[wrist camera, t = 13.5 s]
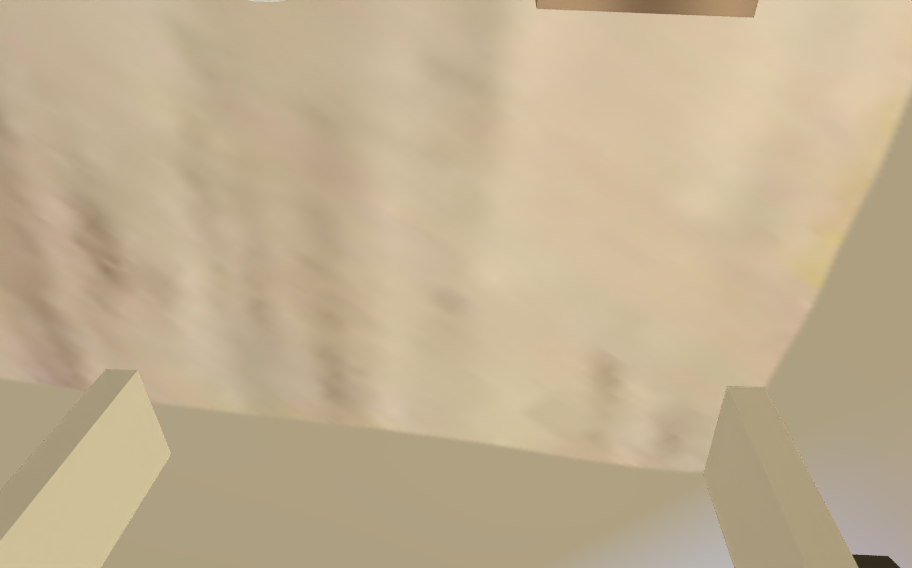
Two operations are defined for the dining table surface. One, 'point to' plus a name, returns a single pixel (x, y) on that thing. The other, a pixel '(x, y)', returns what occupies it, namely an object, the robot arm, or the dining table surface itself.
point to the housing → (658, 6)
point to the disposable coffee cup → (266, 0)
